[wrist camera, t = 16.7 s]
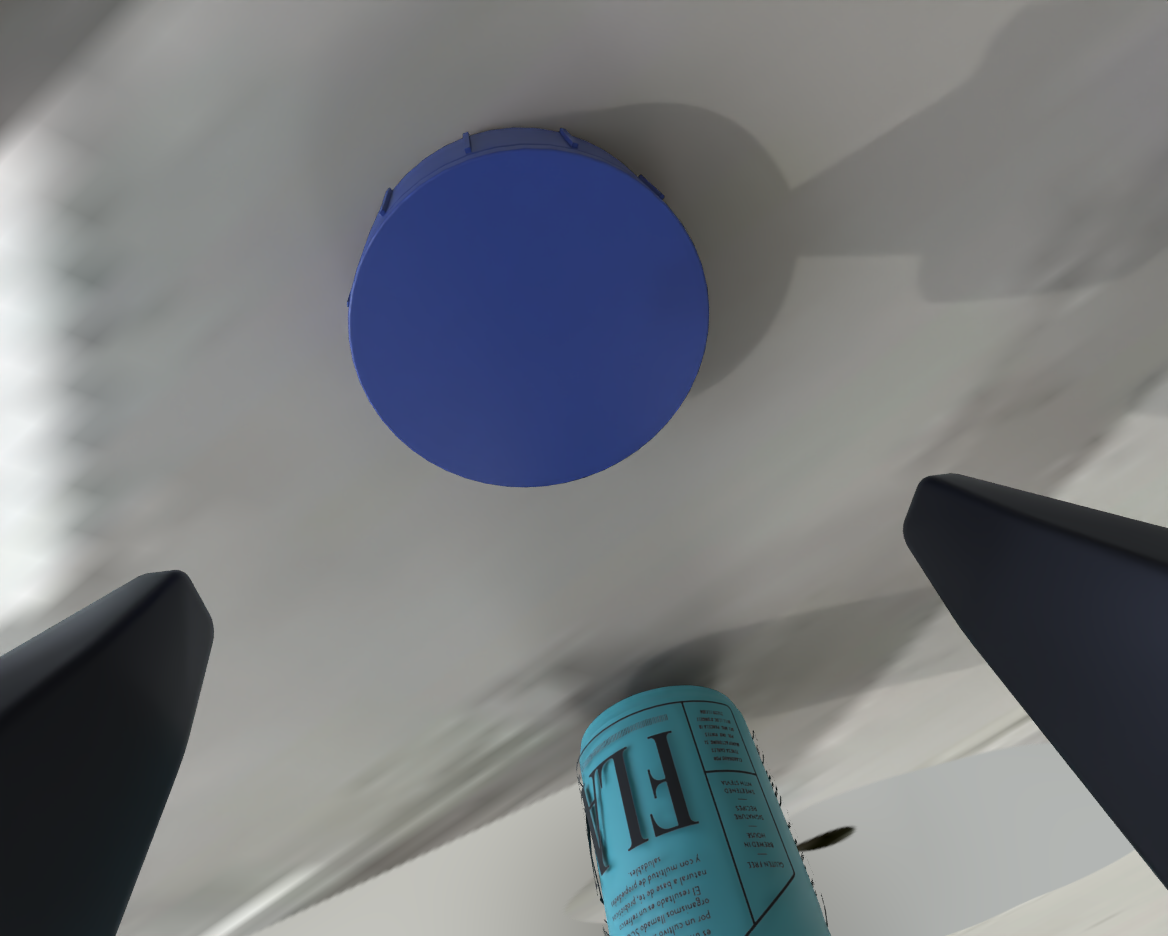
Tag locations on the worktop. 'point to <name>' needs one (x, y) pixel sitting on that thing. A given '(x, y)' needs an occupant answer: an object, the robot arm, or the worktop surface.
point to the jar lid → (526, 309)
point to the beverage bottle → (690, 823)
